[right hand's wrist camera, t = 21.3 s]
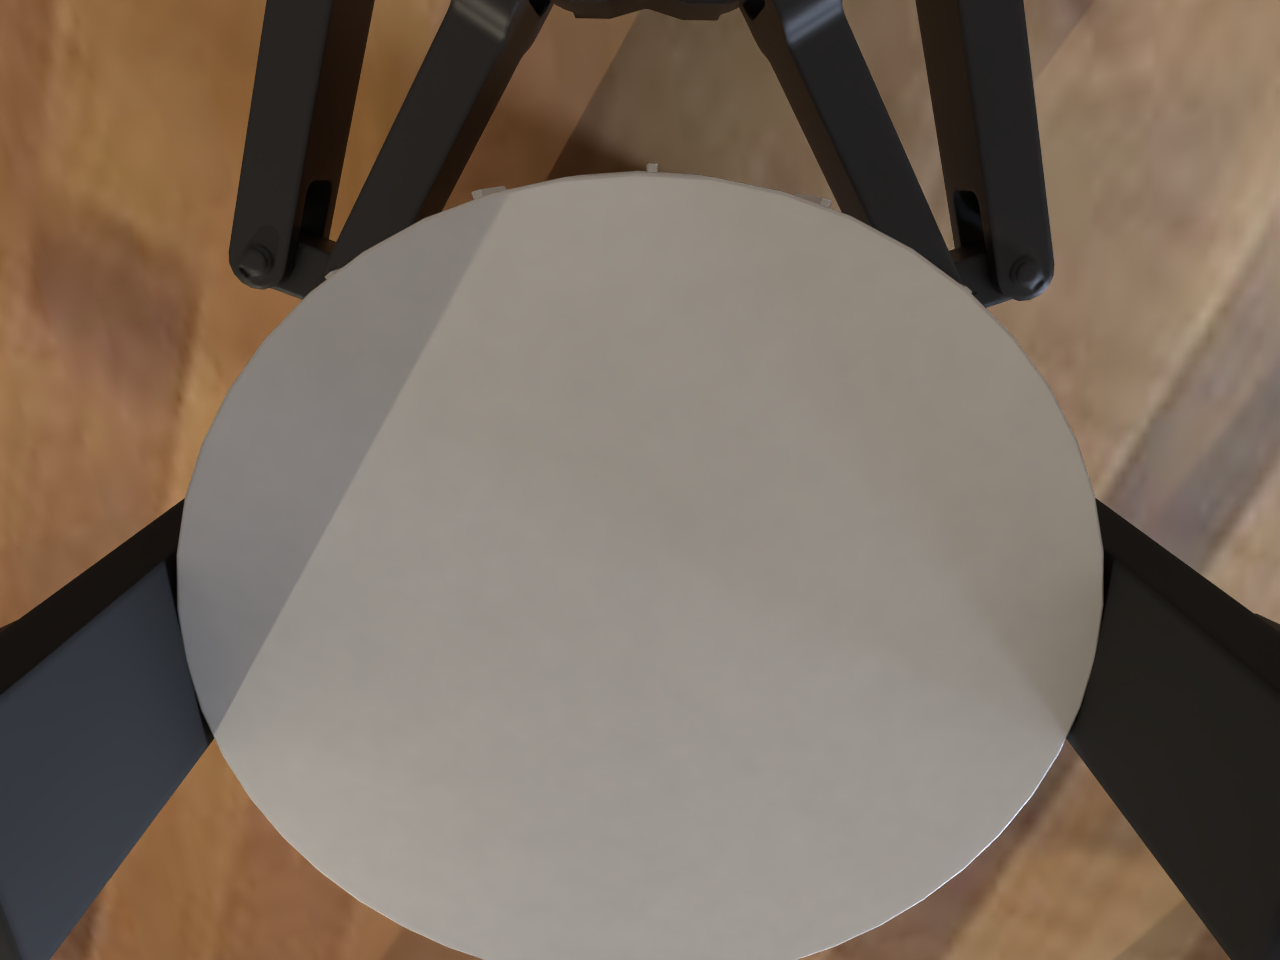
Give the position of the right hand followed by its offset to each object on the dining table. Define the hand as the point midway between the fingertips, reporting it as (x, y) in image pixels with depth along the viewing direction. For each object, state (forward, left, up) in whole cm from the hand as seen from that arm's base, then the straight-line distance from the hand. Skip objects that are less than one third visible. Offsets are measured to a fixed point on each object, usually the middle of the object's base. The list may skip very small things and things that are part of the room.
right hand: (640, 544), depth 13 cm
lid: (0, 0, +3) cm, 3 cm away
